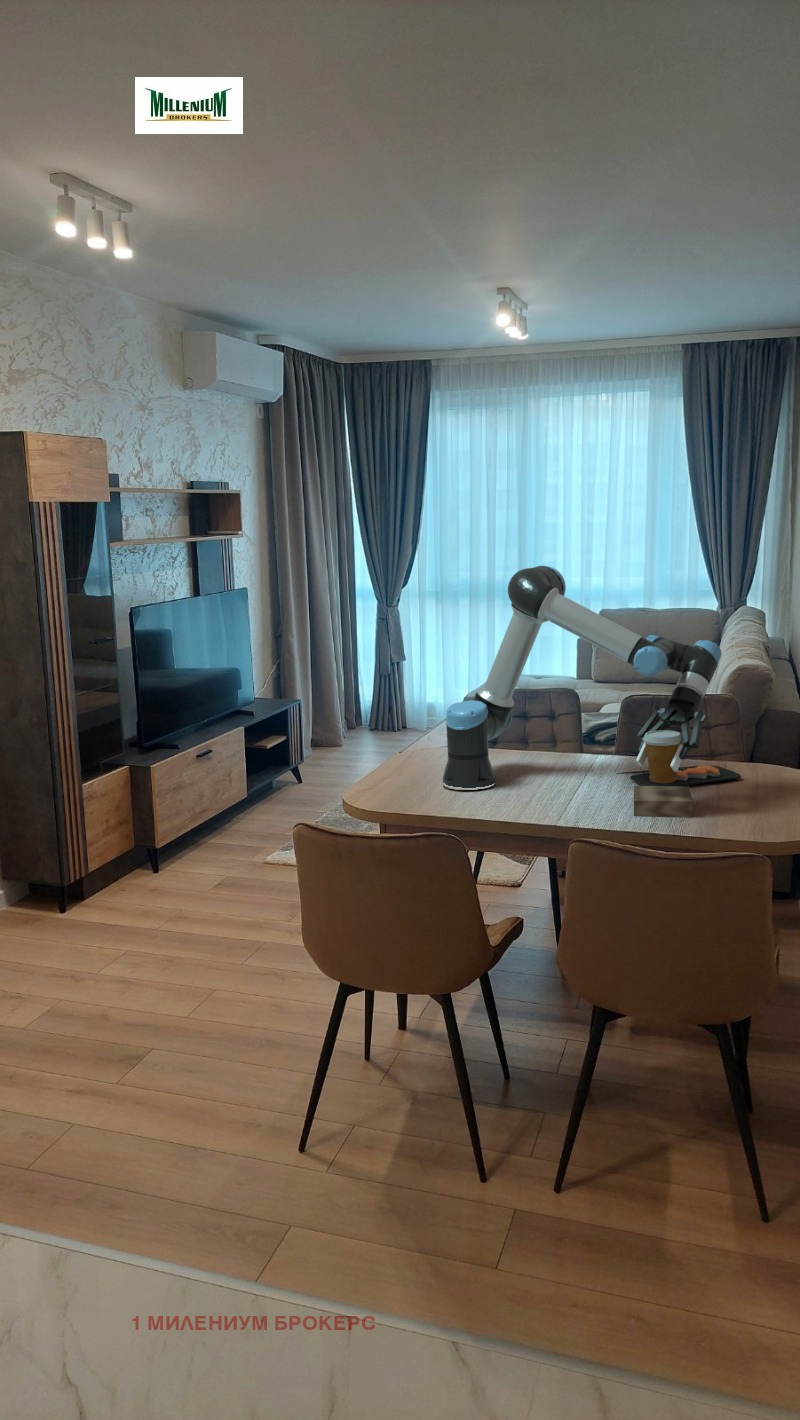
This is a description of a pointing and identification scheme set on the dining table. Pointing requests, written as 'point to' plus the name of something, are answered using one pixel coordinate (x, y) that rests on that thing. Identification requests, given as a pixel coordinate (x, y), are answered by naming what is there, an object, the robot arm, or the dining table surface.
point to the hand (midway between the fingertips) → (656, 766)
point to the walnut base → (662, 801)
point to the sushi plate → (688, 776)
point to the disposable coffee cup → (661, 754)
